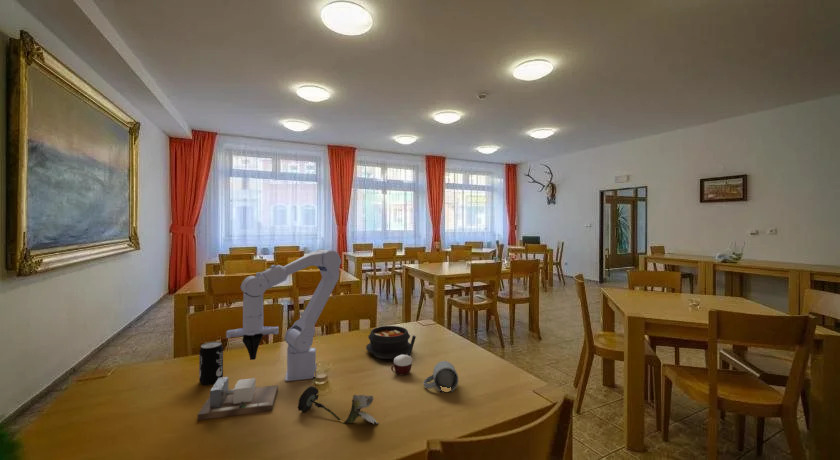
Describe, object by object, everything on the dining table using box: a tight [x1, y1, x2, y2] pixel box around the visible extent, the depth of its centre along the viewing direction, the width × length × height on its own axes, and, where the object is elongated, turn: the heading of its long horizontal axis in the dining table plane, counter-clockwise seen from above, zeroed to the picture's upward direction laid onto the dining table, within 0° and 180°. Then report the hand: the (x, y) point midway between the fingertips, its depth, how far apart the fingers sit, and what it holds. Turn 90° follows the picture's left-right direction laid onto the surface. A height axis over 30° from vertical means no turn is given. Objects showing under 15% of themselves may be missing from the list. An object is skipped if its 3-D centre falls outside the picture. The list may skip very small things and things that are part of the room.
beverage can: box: [198, 341, 224, 386], centre depth 110 cm, size 7×7×12 cm
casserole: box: [365, 325, 411, 360], centre depth 138 cm, size 25×19×8 cm
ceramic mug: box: [422, 360, 459, 392], centre depth 108 cm, size 11×8×8 cm
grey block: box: [209, 376, 229, 409], centre depth 95 cm, size 2×8×5 cm, turn 16°
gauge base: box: [197, 384, 279, 421], centre depth 96 cm, size 18×12×2 cm, turn 106°
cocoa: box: [390, 335, 417, 376], centre depth 118 cm, size 10×6×12 cm, turn 103°
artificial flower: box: [297, 385, 378, 425], centre depth 90 cm, size 9×22×10 cm, turn 65°
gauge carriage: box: [226, 377, 256, 408], centre depth 95 cm, size 7×9×4 cm
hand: (253, 358), depth 105 cm, fingers closed
